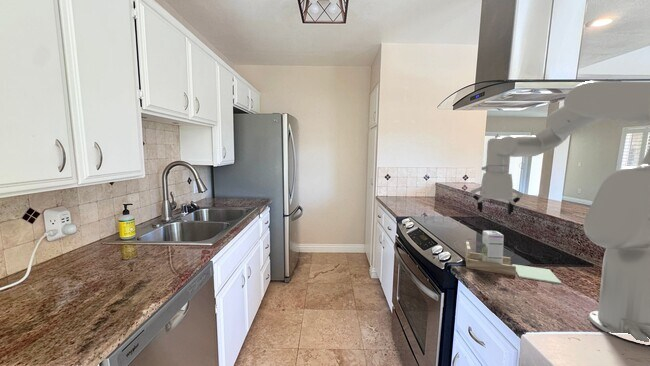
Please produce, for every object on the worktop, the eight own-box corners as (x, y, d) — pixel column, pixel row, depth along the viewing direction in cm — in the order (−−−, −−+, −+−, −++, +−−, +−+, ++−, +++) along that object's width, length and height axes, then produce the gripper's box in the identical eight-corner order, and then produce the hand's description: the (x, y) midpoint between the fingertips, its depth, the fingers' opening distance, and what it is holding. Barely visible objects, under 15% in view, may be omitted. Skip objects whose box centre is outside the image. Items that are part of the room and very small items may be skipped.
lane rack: (515, 275, 95) (516, 255, 94) (466, 267, 102) (467, 248, 101) (509, 265, 104) (510, 246, 103) (465, 259, 111) (466, 241, 110)
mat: (561, 284, 89) (561, 282, 88) (519, 277, 94) (519, 276, 94) (549, 270, 99) (549, 269, 99) (512, 265, 105) (512, 264, 104)
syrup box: (502, 270, 99) (505, 234, 98) (486, 269, 100) (488, 233, 99) (496, 265, 105) (498, 230, 104) (480, 263, 106) (482, 230, 105)
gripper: (472, 169, 99) (470, 212, 101) (527, 170, 92) (524, 217, 94) (471, 169, 106) (468, 209, 108) (522, 169, 99) (519, 213, 100)
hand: (494, 212), depth 101 cm, fingers open, 9 cm apart
